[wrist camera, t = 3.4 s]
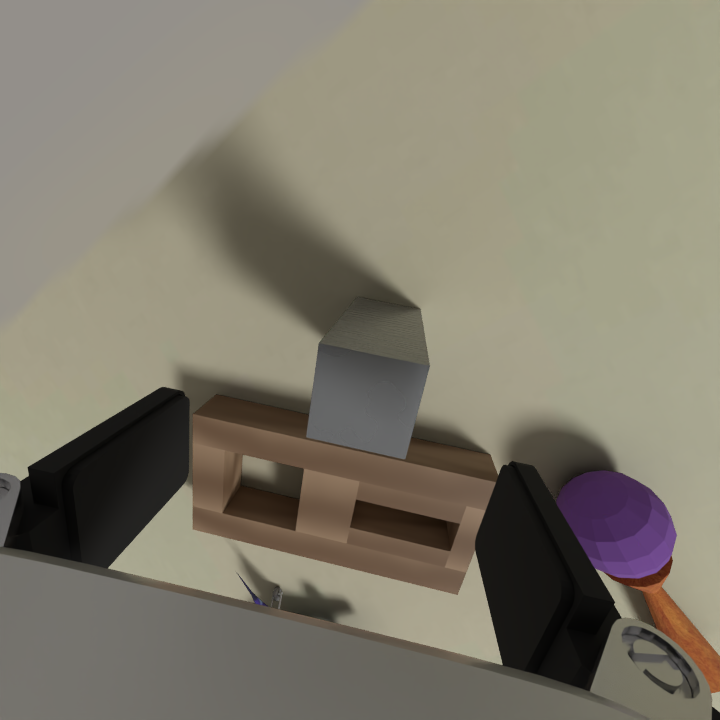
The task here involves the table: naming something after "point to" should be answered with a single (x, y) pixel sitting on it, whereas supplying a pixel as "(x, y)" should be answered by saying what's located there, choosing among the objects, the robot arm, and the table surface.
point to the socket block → (341, 496)
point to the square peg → (370, 378)
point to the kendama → (634, 551)
